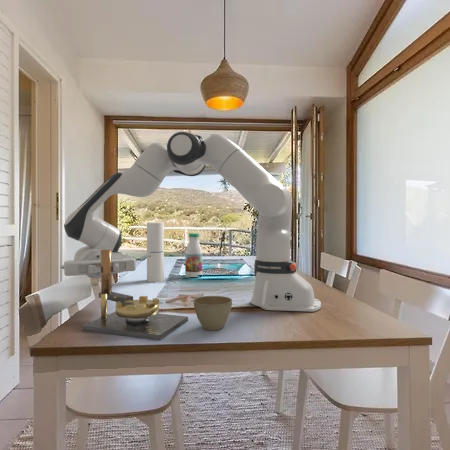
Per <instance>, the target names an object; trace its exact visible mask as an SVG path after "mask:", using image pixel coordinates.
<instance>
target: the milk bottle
mask: <svg viewBox="0 0 450 450" xmlns="http://www.w3.org/2000/svg"><path fill="white" fill-rule="evenodd" d="M199 240H200V234H199V232H195V233H194V232H190V233H188V244H187V245H186V249H185V254H184V256H185V259H184V260H185V261H184V263H185V266H184V268H185V270H184V271H185V272H184V273H185V274H184V275H185V277H186V278H187V277H196V276H198V275H201V274H202V275H203V251H202V249H203V248H202V246H201V244H200V241H199Z"/></svg>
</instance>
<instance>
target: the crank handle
mask: <svg viewBox="0 0 450 450" xmlns="http://www.w3.org/2000/svg"><path fill="white" fill-rule="evenodd" d="M112 275H113V274H112V251H111V250H109V249H106V250H101V278H100V292H98V298H99V299H101V294H103V293H106V294H107V301H111V302H115V311H116V315H117V316H119V317H123V318H144V317H149V316H153V315H156V314H157V313H159V312H160V299H159V298H157V297H154V298H152V299H149V296H147V295H140V296H139V297H138V299H134V295H129V294H124V293H119V292H114V291H112V290H113V288H112V285H113V283H112V279H113V278H112ZM159 314H160V313H159Z"/></svg>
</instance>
